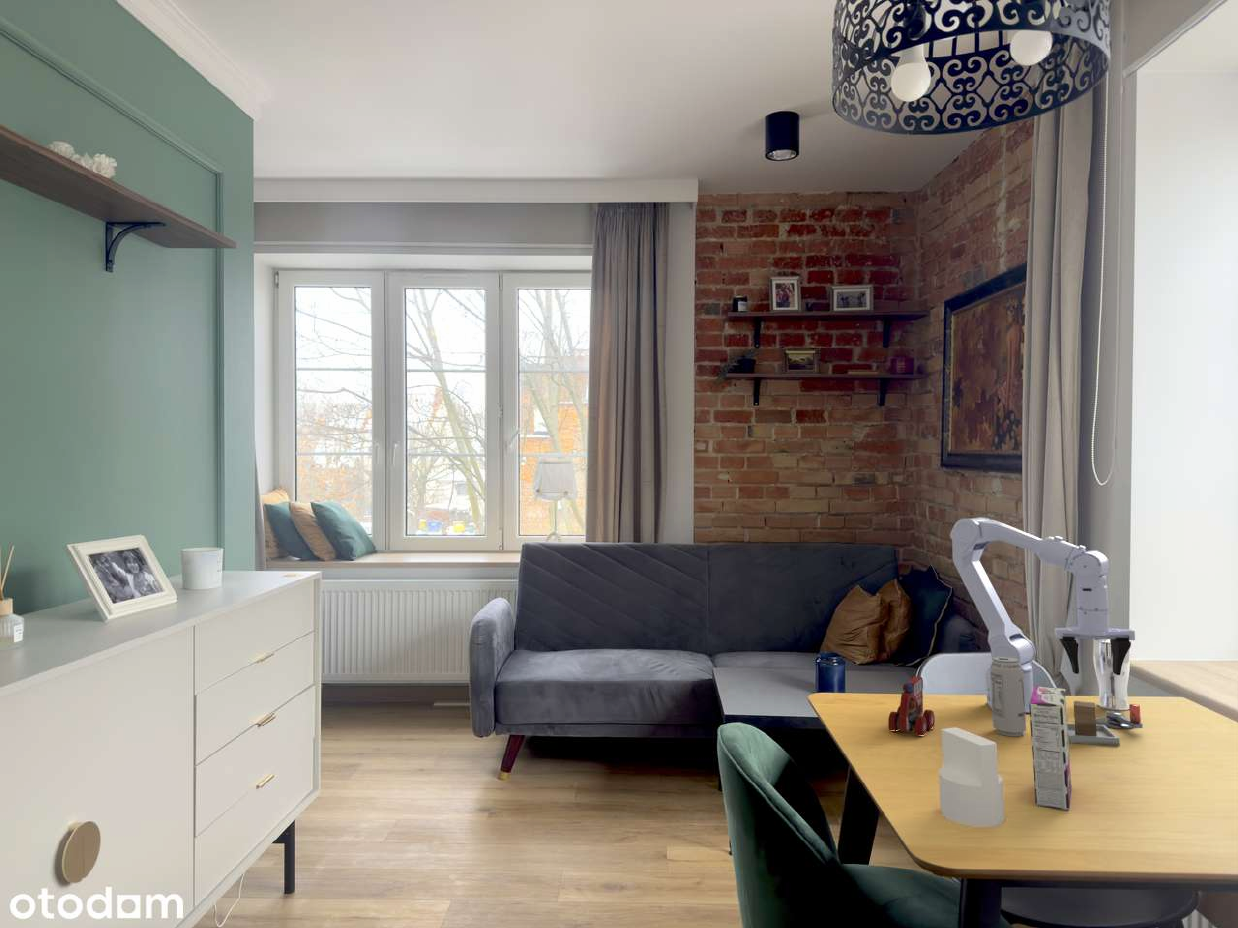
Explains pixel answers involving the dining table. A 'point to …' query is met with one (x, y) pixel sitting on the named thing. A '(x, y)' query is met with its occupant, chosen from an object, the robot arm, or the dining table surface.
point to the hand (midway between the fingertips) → (1096, 673)
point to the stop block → (1085, 718)
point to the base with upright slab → (970, 780)
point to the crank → (1134, 717)
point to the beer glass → (1110, 677)
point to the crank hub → (1112, 723)
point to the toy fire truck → (912, 710)
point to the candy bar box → (1050, 747)
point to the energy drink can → (1008, 696)
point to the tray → (1102, 738)
